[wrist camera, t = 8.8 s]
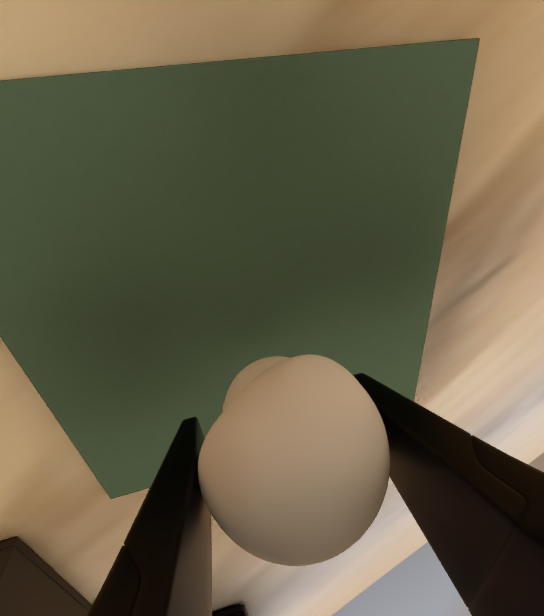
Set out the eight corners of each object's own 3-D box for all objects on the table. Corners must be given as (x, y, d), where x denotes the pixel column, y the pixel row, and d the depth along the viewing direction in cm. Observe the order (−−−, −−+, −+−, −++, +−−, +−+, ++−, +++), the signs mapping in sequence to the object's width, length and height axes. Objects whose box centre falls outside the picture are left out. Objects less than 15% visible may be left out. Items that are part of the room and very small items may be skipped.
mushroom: (232, 296, 9) (279, 453, 4) (363, 340, 11) (483, 477, 6) (172, 423, 10) (165, 626, 6) (295, 441, 12) (354, 603, 8)
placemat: (471, 40, 11) (480, 37, 10) (408, 406, 20) (412, 411, 19) (-151, 96, 8) (-166, 94, 7) (112, 492, 17) (110, 499, 17)
